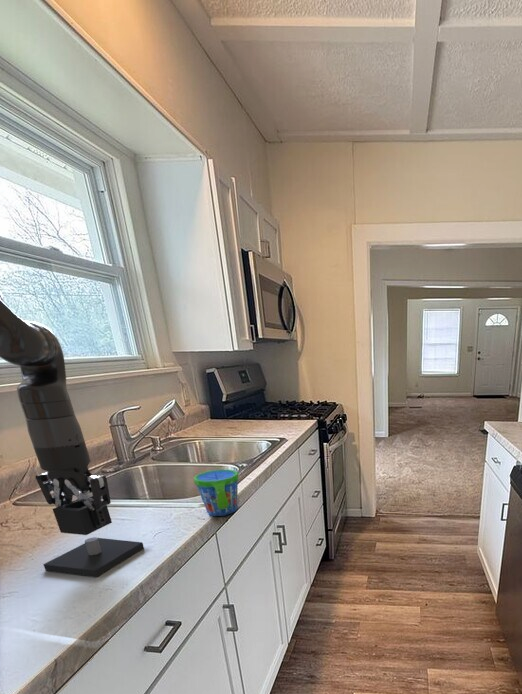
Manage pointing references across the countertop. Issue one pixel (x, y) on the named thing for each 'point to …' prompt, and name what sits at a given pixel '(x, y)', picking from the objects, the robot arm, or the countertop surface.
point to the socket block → (77, 518)
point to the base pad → (94, 557)
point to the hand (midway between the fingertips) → (86, 524)
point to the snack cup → (218, 491)
